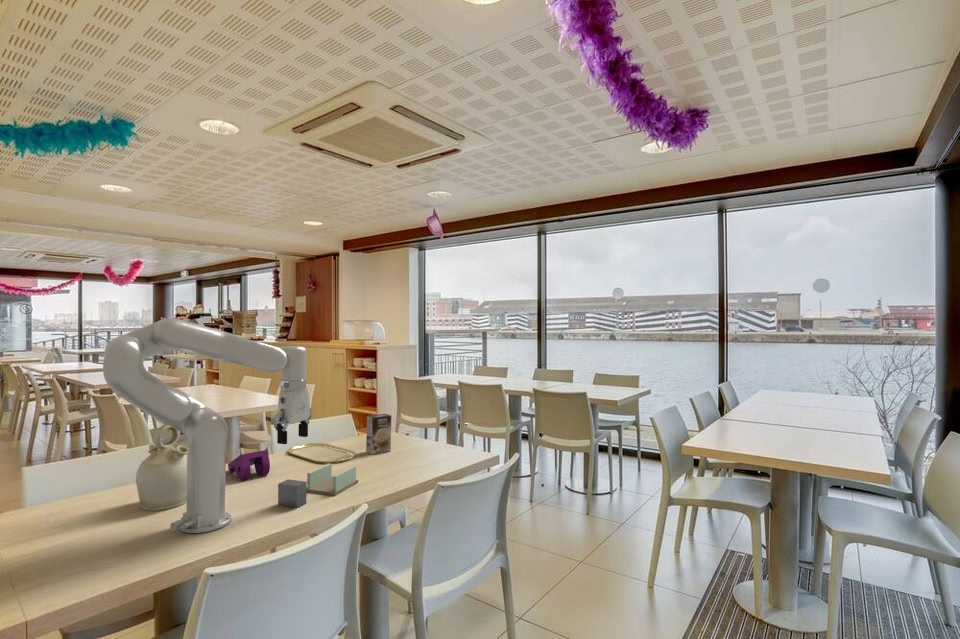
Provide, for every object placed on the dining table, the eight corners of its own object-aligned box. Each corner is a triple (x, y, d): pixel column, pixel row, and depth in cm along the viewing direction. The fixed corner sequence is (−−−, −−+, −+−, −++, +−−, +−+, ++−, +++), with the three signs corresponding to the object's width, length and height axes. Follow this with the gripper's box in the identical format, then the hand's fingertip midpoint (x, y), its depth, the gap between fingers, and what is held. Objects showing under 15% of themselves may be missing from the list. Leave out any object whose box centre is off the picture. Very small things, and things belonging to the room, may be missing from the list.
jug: (203, 501, 154) (204, 422, 154) (148, 517, 141) (149, 431, 141) (180, 491, 162) (181, 417, 162) (126, 505, 150) (127, 425, 150)
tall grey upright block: (296, 509, 148) (297, 486, 148) (277, 506, 150) (278, 483, 150) (306, 503, 152) (306, 481, 152) (287, 501, 155) (288, 479, 155)
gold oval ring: (326, 467, 191) (327, 463, 191) (279, 452, 212) (279, 449, 212) (364, 457, 206) (364, 454, 206) (317, 444, 227) (317, 441, 227)
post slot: (334, 495, 159) (335, 477, 159) (304, 491, 163) (304, 473, 163) (358, 482, 173) (358, 465, 173) (329, 479, 176) (329, 462, 176)
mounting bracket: (227, 488, 182) (244, 477, 171) (224, 466, 185) (241, 454, 174) (253, 483, 189) (271, 472, 178) (249, 461, 192) (267, 449, 181)
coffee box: (372, 455, 209) (372, 417, 209) (365, 451, 214) (366, 415, 214) (391, 451, 215) (391, 415, 215) (384, 448, 220) (384, 413, 220)
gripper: (284, 389, 142) (283, 447, 142) (320, 382, 159) (320, 434, 159) (263, 388, 145) (263, 445, 144) (301, 381, 161) (301, 433, 161)
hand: (293, 440), depth 152 cm, fingers open, 9 cm apart
